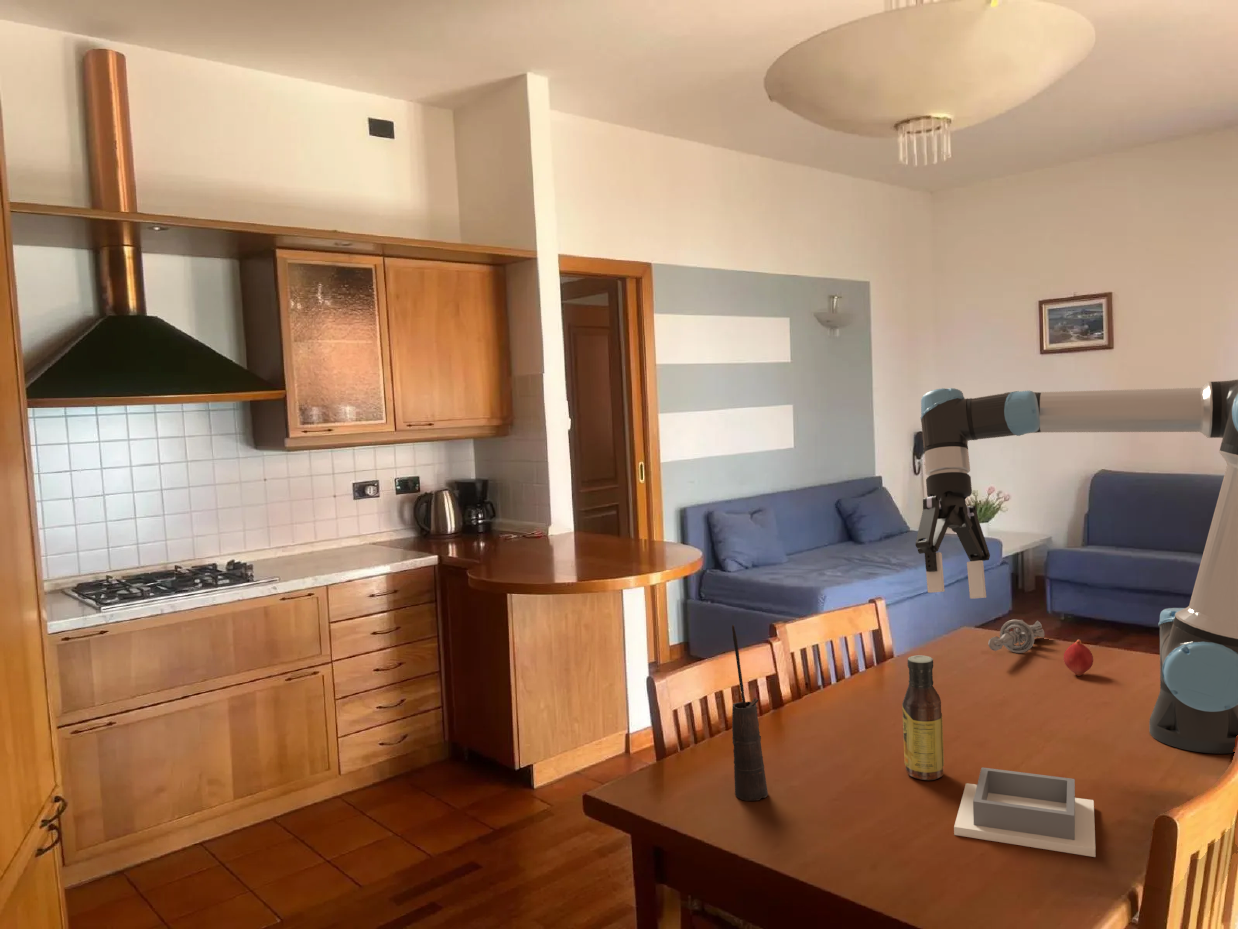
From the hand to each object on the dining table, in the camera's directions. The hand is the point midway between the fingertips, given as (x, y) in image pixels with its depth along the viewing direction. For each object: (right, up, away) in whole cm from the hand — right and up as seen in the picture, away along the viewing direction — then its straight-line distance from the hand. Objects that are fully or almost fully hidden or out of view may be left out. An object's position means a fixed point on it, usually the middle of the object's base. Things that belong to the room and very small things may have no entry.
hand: (957, 595), depth 159 cm
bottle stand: (+1, -30, -23) cm, 38 cm away
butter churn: (-36, -31, -9) cm, 48 cm away
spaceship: (+37, -23, +61) cm, 75 cm away
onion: (+42, -24, +42) cm, 64 cm away
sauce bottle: (-8, -29, -6) cm, 31 cm away
